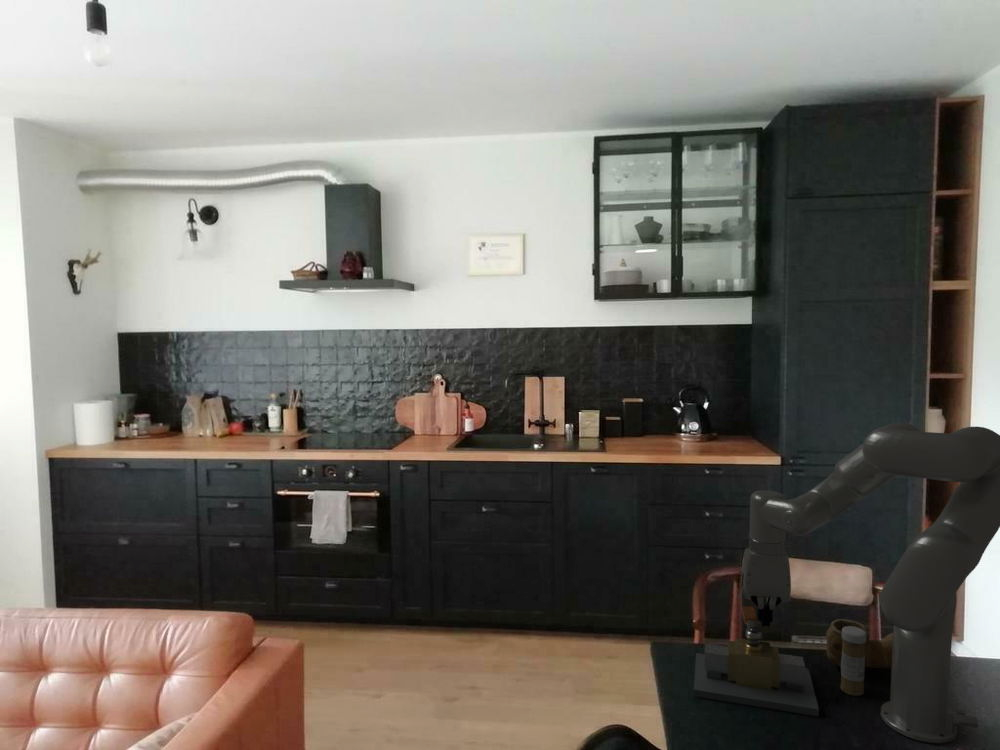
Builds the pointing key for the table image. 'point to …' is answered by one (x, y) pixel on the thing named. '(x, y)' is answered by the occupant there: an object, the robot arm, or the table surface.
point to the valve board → (755, 692)
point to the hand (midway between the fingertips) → (764, 623)
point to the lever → (751, 623)
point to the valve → (754, 665)
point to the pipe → (875, 650)
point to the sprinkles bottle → (853, 660)
